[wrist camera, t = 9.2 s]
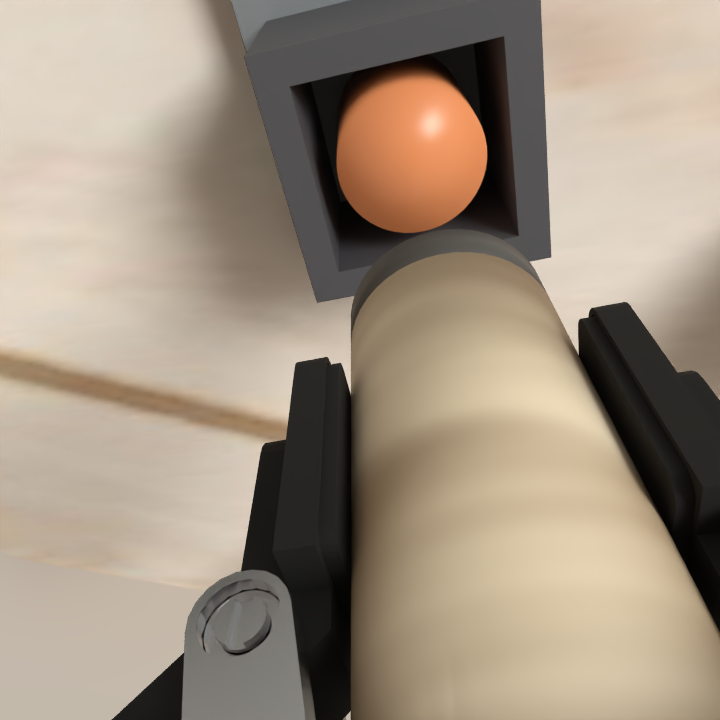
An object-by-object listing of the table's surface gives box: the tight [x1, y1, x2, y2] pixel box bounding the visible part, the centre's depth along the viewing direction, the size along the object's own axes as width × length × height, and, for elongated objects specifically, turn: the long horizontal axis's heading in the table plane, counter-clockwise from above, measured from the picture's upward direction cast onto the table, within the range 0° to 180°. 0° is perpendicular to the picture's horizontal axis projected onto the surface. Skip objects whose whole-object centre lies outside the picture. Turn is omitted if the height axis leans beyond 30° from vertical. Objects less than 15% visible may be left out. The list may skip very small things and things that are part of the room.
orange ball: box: [337, 54, 487, 233], centre depth 22 cm, size 5×5×5 cm
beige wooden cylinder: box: [351, 229, 720, 720], centre depth 9 cm, size 4×4×10 cm
